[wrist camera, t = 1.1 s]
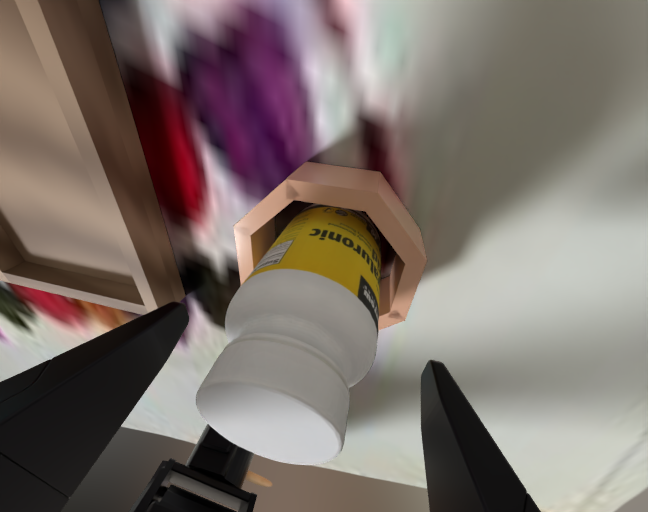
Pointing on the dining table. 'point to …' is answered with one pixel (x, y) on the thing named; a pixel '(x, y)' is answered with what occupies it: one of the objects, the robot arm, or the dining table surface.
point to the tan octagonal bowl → (351, 193)
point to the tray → (75, 165)
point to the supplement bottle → (299, 339)
